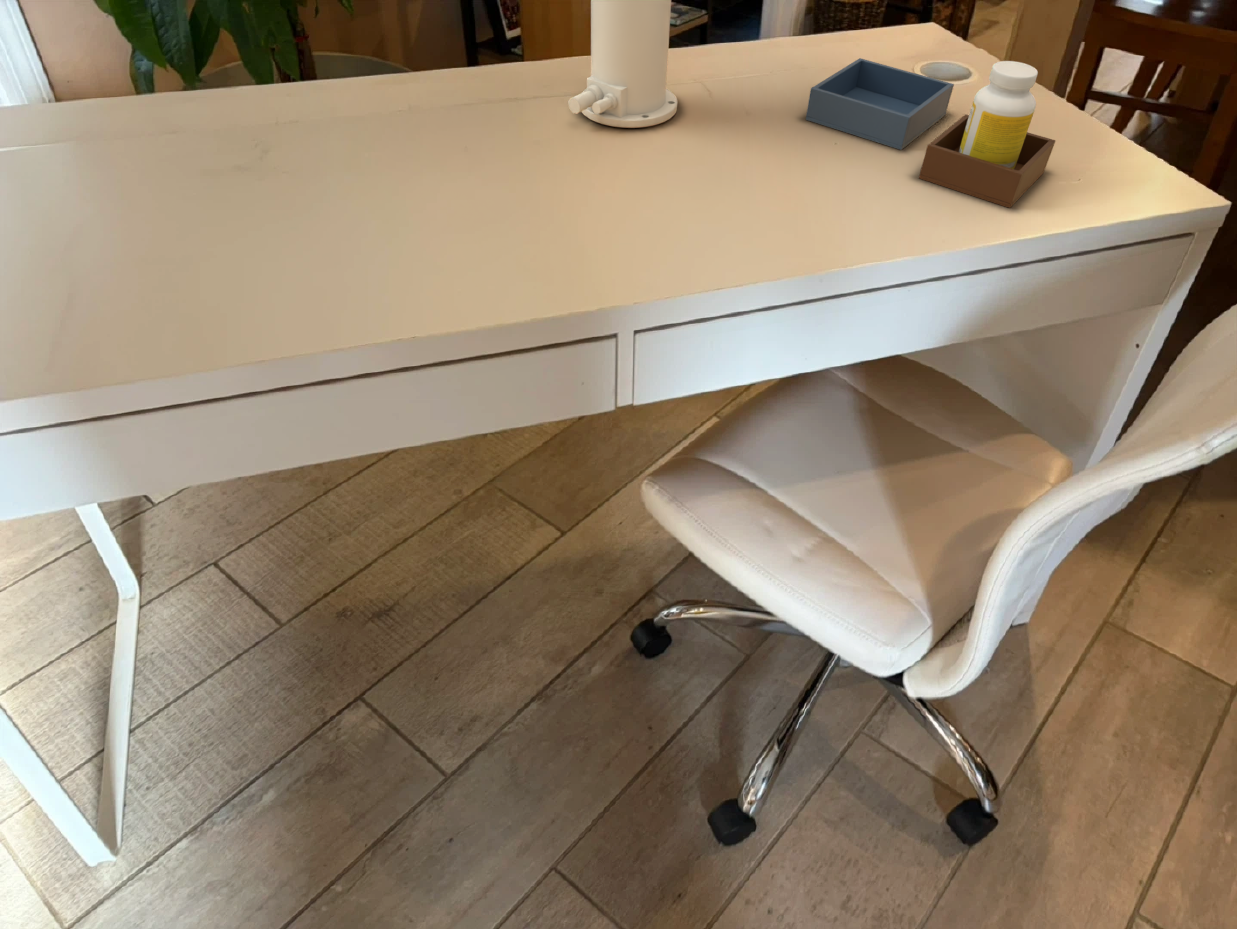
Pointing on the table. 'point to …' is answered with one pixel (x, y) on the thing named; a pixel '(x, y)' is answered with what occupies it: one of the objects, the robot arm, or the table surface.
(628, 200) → the table surface
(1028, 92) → the pill bottle
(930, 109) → the blue bin
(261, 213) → the table surface
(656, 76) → the robot arm
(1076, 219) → the table surface
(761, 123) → the table surface
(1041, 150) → the brown bin
